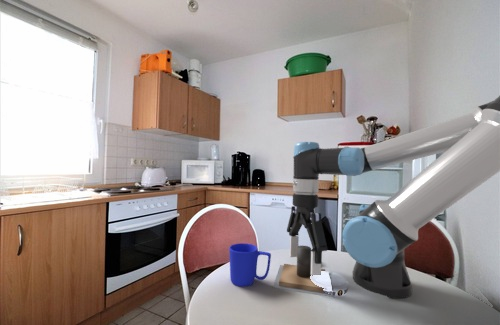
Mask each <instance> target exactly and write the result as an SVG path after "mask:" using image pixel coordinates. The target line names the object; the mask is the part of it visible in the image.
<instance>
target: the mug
mask: <svg viewBox="0 0 500 325" xmlns="http://www.w3.org/2000/svg"><path fill="white" fill-rule="evenodd" d="M228 248H229V273H230V274H229V275H230V282H231V283H232V284H233V285H235V286H236V287H242V288H244V287H249V286H252V284H254V282H255V279H257V280H259V281H263V280H265V279H266V278H267V277H268V274H269V271H270V267H271V260H272V259H271V258H272V254H271V252H267V251H261V250H260V251H259V250H258V246H256V245H255V244H252V243H244V242H243V243H234V244H231V245H230V246H229V247H228ZM262 255H263V256H267V267H266V271H265V273H264V275H262V276H259V275H257V268H258V267H257V266H258V258H259V256H262Z"/></svg>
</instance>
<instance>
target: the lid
mask: <svg viewBox="0 0 500 325" xmlns="http://www.w3.org/2000/svg"><path fill="white" fill-rule="evenodd" d="M311 250H312V248H311V247H310V246H308V245H298V247H297V257H296V265H295V264H289V263H283V265H284V266H283V270H282V273H281V276H280V280H279V286H284V287H290V288H296V289H303V290H309V291H315V292H321V293H325V292H324V291H323V289H324V288H322V287H319V286H317V285H315V284H314V283H313V282H312V281H311V279H310V276H311ZM321 271H326V269H325V268H321Z"/></svg>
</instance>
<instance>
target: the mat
mask: <svg viewBox="0 0 500 325" xmlns="http://www.w3.org/2000/svg"><path fill="white" fill-rule="evenodd" d="M283 266H284V264H283V265H282V264H280V265H279V268H278V271H277V273H276V277H275V279H274V282H273V286H272V288H274V289H278V290H279V289H280V290H284V291H285V290H286V291H291V292H297V293H303V294H309V295H317V296H322V297H326V298H327V297H328V298H334V299H335V294H334V295H331V294H327V293H321V292H315V291H309V290H303V289H296V288H290V287H284V286H279V280H280V276H281V273H282V270H283Z"/></svg>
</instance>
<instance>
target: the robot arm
mask: <svg viewBox="0 0 500 325" xmlns="http://www.w3.org/2000/svg"><path fill="white" fill-rule="evenodd" d="M293 149H294V150H293V157H292V158H293V175H292V176H293V177H292V178H293V179H292V180H293V181H292V184H291V185H292V191H293V194H292V206H291V212H290V215H289V220H288V224H287V227H286V232H287V233H288V235H289V258H297V247H298V246H299V241H300V240H299V239H300V238H299V232H300V229H301V228H302V226H303V227H304V228H305V229H306V231H307V235H308V238H309V240H310V244H311V247H312V248H311V275H312V276H313V275H321V269H322V263H323V262H322V261H323V260H322V259H323V258H322V257H323V252H327V251H328V245H327V241H326V240H327V239H326V237H325V236H326V235H325V231H324V227H323V223H322V214H321V212H315V208H318V207H319V195H318V193H319V175H335V176H336V175H337V176H349V177H350V176H352V177H356V176H361V175H362V174H364V173H368V172H371V171H375V170H378V169H382V168H387V167H392V166H395V165H399V164H401V163H402V164H403V163H406V162H410V161H414V160H418V159H422V158H425V157H430V156H434V155H437V154H441V155H440V156H438V157H437V158H436V159H435V160H433V161H432V163H430V164H429V165H428V166H426V167H425V168H424V169H423V170H422V171H420V172H419V173H418V174H417V175H415V176H414V177H413V178H412V179H410V180H409V181H408V182H407V183H406V184H405V185H403V186H402V187H401V188H400V189H398V190H397V191H396V192H395V193H393V195H391V196H390V197H389V198H388V199H385V200H383V199H376V200H374V202H372V203H371V204H360V206H359V210H358V213H359V214H358V215H356V216H355V217H353V218H351V219H348V221H347V223H345V226H344V228H343V229H342V237H341V238H342V243H343V246H344V249H345V250H346V252H347V254H348V255H349V256H350V257H351V258H352V259H353V260H354V261H355V264H354V266H353V269H352V280H353V281H354V283H355V284H356V285H358V286H359V287H361V288H362V289H365V290H367V291H369V292H371V293H375V294H378V295H381V296H386V297H388V298H393V299H396V298H397V299H401V298H408V297H411V295H413V294H412V293H413V291H412V290H413V284H412V281H411V277H410V275H409V272H408V269H407V266H406V264H405V249H407V248H408V247H409V246H411V245H413V243H415V242H417V241H418V240H419V229H421V228H422V227H424V226H425V225H427V224H428V223H429V222H431V221H432V220H434V219H435V218H436V217H438V216H439V215H441V214H442V213H443V212H445V211H446V210H448V209H449V208H450V207H452V206H453V205H454V204H456V203H457V202H458V201H460V200H461V199H463V198H465V197H466V196H467V195H469V194H470V193H471V192H473V191H474V190H475V189H477V188H478V187H480V186H481V185H482V184H484V183H485V182H486V181H489V180H490V179H491V178H493V177H494V176H495V175H497V174H498V173H499V172H500V95H499V96H498V97H496V98H495V99H494V100H492V101H489V102H487V103H485V104H482V105H478V106H476V107H474V108H473V110H472V111H471V112H470V113H468V114H467V113H466V114H464V115H461V116H458V117H455V118H451V119H449V120H446V121H442V122H438V123H437V124H433V125H430V126H427V127H423V128H420V129H417V130H415V131H411V132H408V133H405V134H402V135H398V136H395V137H392V138H390V139H386V140H383V141H379V142H377V143H374V144H371V145H368V146H365V147H362V148H361V147H350V146H346V147H335V148H333V147H332V148H321V147H320V144H319V143H318V142H316V141H301V142H300V141H298V142H296V143H295V144H294V147H293Z"/></svg>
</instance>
